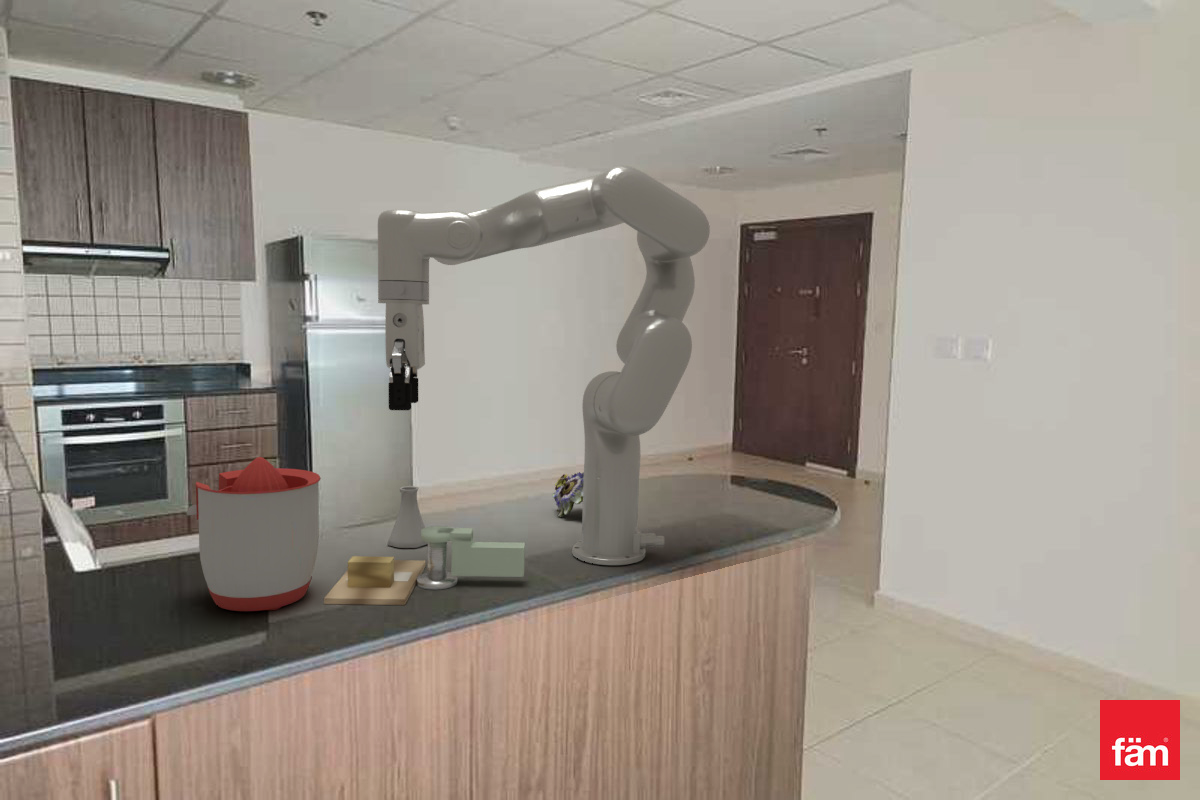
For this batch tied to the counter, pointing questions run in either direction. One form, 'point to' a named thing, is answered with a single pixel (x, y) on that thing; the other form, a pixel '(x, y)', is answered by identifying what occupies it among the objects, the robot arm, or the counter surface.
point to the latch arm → (478, 553)
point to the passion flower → (568, 492)
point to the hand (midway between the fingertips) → (404, 406)
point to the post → (437, 569)
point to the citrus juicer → (258, 535)
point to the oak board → (378, 592)
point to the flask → (408, 521)
